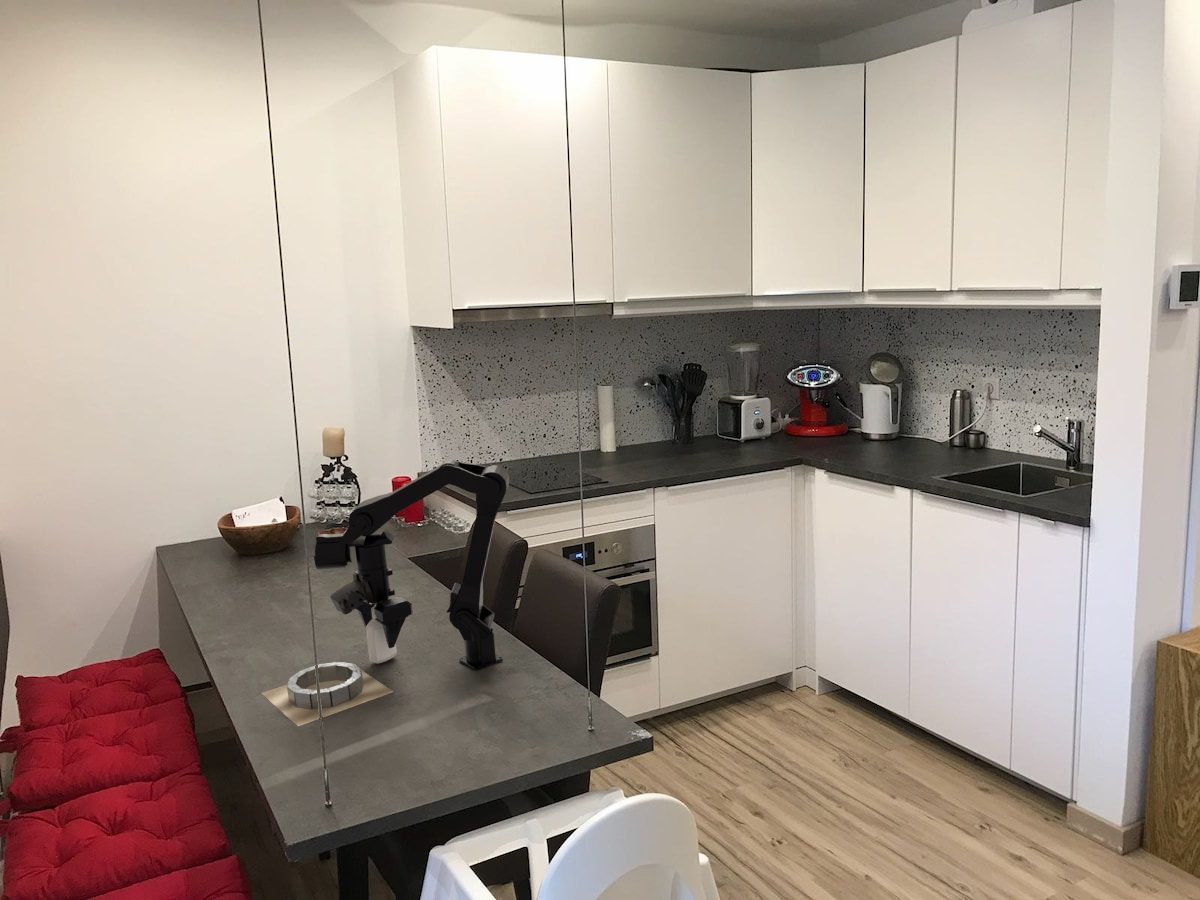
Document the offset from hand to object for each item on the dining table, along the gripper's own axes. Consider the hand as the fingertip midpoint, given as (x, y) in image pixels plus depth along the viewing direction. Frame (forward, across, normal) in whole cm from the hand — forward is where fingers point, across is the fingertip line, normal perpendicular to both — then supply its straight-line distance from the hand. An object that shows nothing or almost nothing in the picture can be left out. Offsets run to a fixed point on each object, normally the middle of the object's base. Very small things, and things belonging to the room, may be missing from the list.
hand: (381, 641), depth 185 cm
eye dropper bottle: (+4, 0, 0) cm, 4 cm away
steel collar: (+4, +5, -14) cm, 15 cm away
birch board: (+5, +5, -14) cm, 16 cm away
